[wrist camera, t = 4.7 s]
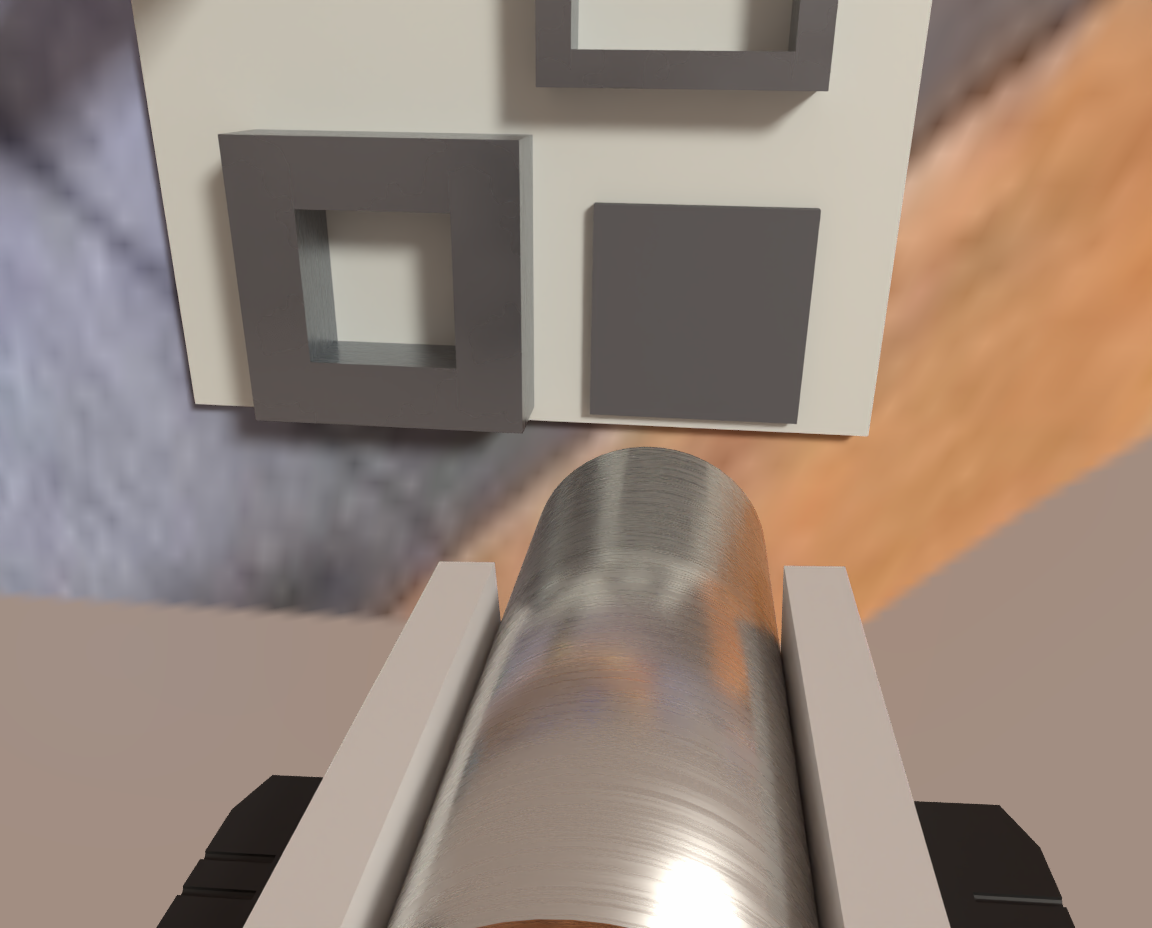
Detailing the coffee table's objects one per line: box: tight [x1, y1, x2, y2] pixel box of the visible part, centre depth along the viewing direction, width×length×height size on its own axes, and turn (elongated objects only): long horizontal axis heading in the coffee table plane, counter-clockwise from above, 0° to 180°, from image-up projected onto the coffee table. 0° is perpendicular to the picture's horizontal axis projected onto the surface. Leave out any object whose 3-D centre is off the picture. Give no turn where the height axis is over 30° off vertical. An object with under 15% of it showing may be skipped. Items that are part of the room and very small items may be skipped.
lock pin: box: [387, 447, 819, 928], centre depth 10 cm, size 4×4×11 cm
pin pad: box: [590, 202, 821, 424], centre depth 30 cm, size 7×7×1 cm
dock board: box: [131, 0, 932, 436], centre depth 28 cm, size 24×22×1 cm
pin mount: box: [218, 129, 534, 433], centre depth 30 cm, size 9×9×3 cm
